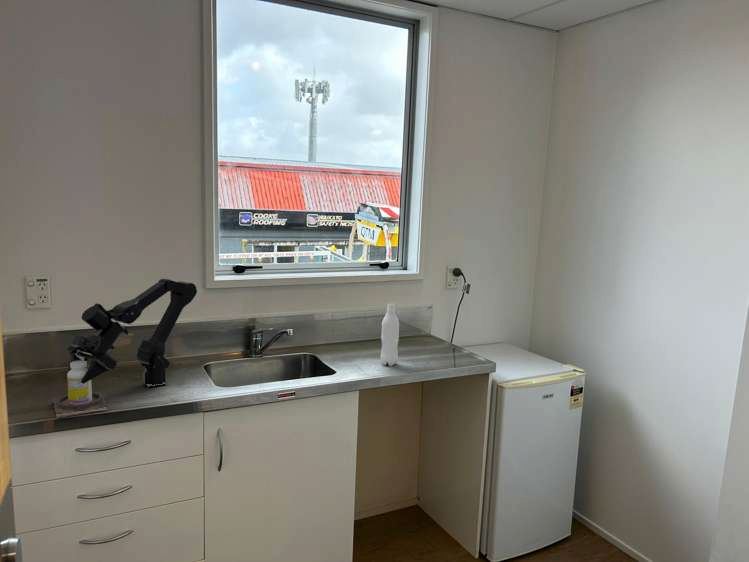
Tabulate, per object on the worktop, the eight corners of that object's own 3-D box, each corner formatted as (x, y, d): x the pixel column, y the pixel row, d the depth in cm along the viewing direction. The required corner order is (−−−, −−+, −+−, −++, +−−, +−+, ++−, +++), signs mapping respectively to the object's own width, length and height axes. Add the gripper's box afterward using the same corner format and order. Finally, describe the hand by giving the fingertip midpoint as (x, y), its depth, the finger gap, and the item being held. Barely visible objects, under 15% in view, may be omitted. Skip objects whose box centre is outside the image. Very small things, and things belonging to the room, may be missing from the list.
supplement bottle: (77, 397, 186) (75, 358, 184) (96, 399, 185) (95, 360, 183) (63, 405, 179) (61, 364, 177) (83, 406, 178) (82, 366, 176)
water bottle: (391, 367, 233) (393, 306, 230) (376, 364, 238) (378, 304, 234) (401, 364, 239) (403, 304, 235) (387, 360, 243) (389, 301, 240)
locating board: (101, 396, 192) (101, 388, 191) (107, 410, 180) (107, 402, 179) (52, 403, 184) (52, 395, 184) (56, 418, 172) (55, 409, 172)
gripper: (71, 320, 186) (38, 361, 179) (106, 328, 177) (73, 372, 169) (95, 339, 194) (64, 379, 187) (130, 348, 184) (99, 391, 177)
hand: (74, 380), depth 180 cm, fingers open, 8 cm apart
